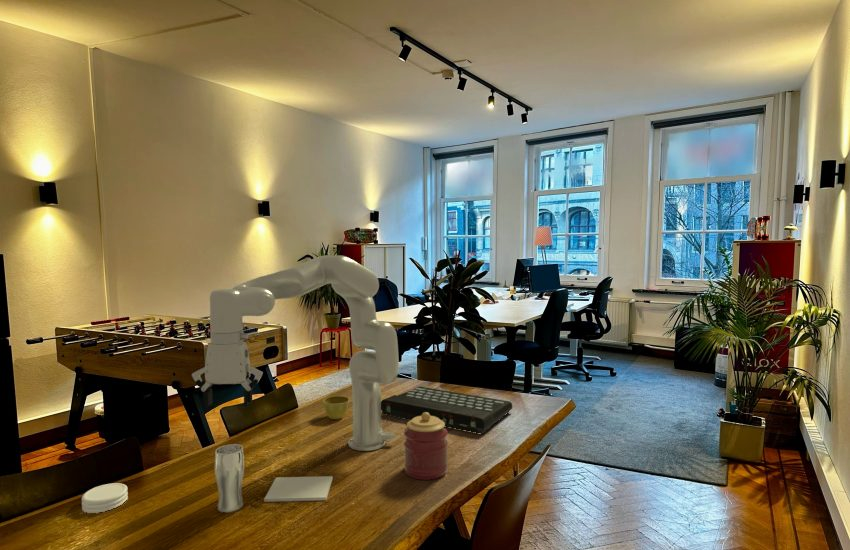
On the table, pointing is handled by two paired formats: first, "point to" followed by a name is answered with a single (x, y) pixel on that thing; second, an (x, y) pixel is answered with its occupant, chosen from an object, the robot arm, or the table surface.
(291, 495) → the grey mat
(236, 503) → the beer glass
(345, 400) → the flower pot
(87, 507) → the white round disc stack
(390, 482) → the table surface
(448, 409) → the computer keyboard
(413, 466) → the canister
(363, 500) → the table surface
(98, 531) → the table surface
